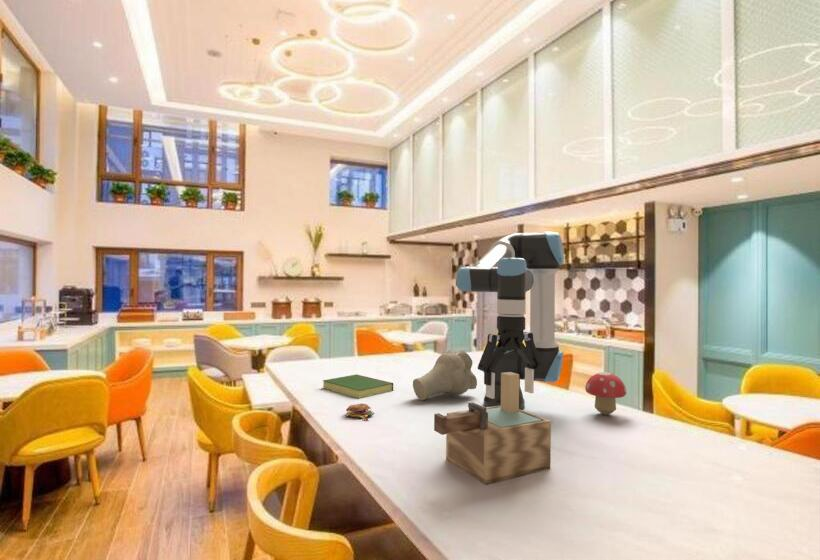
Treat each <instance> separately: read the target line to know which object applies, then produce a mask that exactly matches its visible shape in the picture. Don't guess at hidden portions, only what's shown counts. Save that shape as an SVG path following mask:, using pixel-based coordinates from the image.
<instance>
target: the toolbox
mask: <svg viewBox="0 0 820 560" xmlns="http://www.w3.org/2000/svg"><path fill="white" fill-rule="evenodd" d="M498 407H501V405H499V406H492V407H486V406H484V405H480V404H477V403H475V402H467V408H468V409H465V410H459V411H458V410H457V411H452V412H447V413H446V415H453V414H460V413H466V412H473V411H478V412H480V428H474V429H468V430H462V431H456V432H451V433H447V434H445V435H446V437H445V439H446V440H445V441H446V442H445V459H446V460H447V461H448V462H450V463H451V464H453V465H455V466H457V467H458V468H460V470H463V472H466V473H467V474H469V475H471V476H472V477H474V478H475V479H476V480H478V481H480V482H482V483H483V484H484V485H490V484H493V483H498V482H502V481H506V480H510V479H515V478H518V477H522V476H523V477H524V476H527V475H531V474H534V473H535V474H536V473H539V472H543V471H547V470H551V455H552V454H551V447H552V446H551V445H552V437H551V436H552V420H550V419H548V418H545V417H542V416H539V415H536V414H535V413H534V414H533V413H532V412H528V411H526V410H523V409H519V412H522V413H525V414H527V415H530V416H533V417H535V418H538V419H541V420H542V421H538V422H532V423H527V424H521V425H515V426H510V427H504V428H500V427H498V426H496V425H493V424H491V423H489V422H488V426H486V409H491V408H498Z"/></svg>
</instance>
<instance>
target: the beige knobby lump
mask: <svg viewBox="0 0 820 560" xmlns="http://www.w3.org/2000/svg"><path fill="white" fill-rule="evenodd" d="M472 367H473V360H472V358H471V355H469V354H468V353H467V352H466V351H465V350H461V351H459V352H457V353H456V351H455V350H453V349H450V350H449V349H448V351H447V352H445V353H442V354H441V355H439V356H438V358H437V359H436V361H435V363H434V365H433V367H432V369H430V371H428V372H427V373H426V374H424V375H422V376H420V377H417V378H415V379H413V380H412V387H413V392H414V394H415V396H416V397H417V398H418V400H420V401H425V400H427V399H429V398H430V397H433V396H435V395H440V394H449V395H453V396H454V395H462V394H465V393H467V391H469V390H475V389H476V388H477V386H478V380H477V377H476V375H475V374H474V373H473V372H472Z"/></svg>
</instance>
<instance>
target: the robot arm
mask: <svg viewBox="0 0 820 560" xmlns="http://www.w3.org/2000/svg"><path fill="white" fill-rule="evenodd" d="M563 264H565V252H564V246H563V240H562V237H561V235H560V234H559V232H557V231H556V232H555V231H538V232H534V231H533V232H516V233H511V234H508V235H505V236H502V237H501V238H499V239H498V240H496V241H494V242H493V243H492V244H491V245H490V246H489V249H488V251H487V252H485V254H484V255H483V256H482V257H481V258H480V259H478V260H477V262H475V263H474V264H473V265H472V266H461V267H459V268H458V270H457V272H456V278H455V281H456V286H457V288H458V290H460V291H461V292H469V293H496V294H497V297H496V298H497V299H496V314H497V316H496V329H497V331H498V332H497V334H492V333H488V335H487V342H486V345H485V347H484V349H483V352H482V355H481V358H480V359H479V363H478V365H477V370H479V371H480V372H481V371H482V372H483V383H484V385H485V393H484V397H483V406H484V407H492V406H499V405H501V373H504V372H513V373H516V374H519V409H520V410H523V409H525V398H524V395H523V392H522V389H521V380H522V381H523V380H524V392H526V393H529V394H534V385H535V384H534V383H535V382H541V383H556V382H558V381H559V379H560V376H561V373H562V368H563V361H564V350H562V349H559V347H560V346H559V345H560V344H559V343H558V342H557V341H556V339H555V331H556V330H555V326H556V325H555V324H556V323H555V320H556V319H555V311H556V309H555V308H556V306H555V305H556V301H555V300H556V297H555V296H556V273H558V272H559V270H560V266H561V265H563ZM528 291H529V292H530V293H529V303H530V305H529V309H530V310H529V315H530V316H529V327H530V328H529V332H528V331H527V332H526V331H525V330H526V317H525V316H524V315H526V312H527V311H526V309H527V304H526V303H527V302H526V301H527V300H526V298H527V297H526V295H527V294H526V293H527V292H528ZM524 331H525V332H524ZM523 341H524V342H523ZM534 381H535V382H534Z"/></svg>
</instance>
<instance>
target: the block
mask: <svg viewBox="0 0 820 560" xmlns="http://www.w3.org/2000/svg"><path fill="white" fill-rule="evenodd" d="M433 415H434V417H433V418H434V419H433V420H434V422H433V423H434V424H433V425H434V426H433V428H434V429H433V430H434V431H435V432H436V433H438V434H440V435H441V436H443V435H446V434H447V433H451V432H456V431H462V430H468V429H474V428H480V412H478V411H473V412H466V413H460V414H453V415H447V414H446V415H443V414H441V413H434V414H433ZM486 426H488V413H487V412H486Z"/></svg>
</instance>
